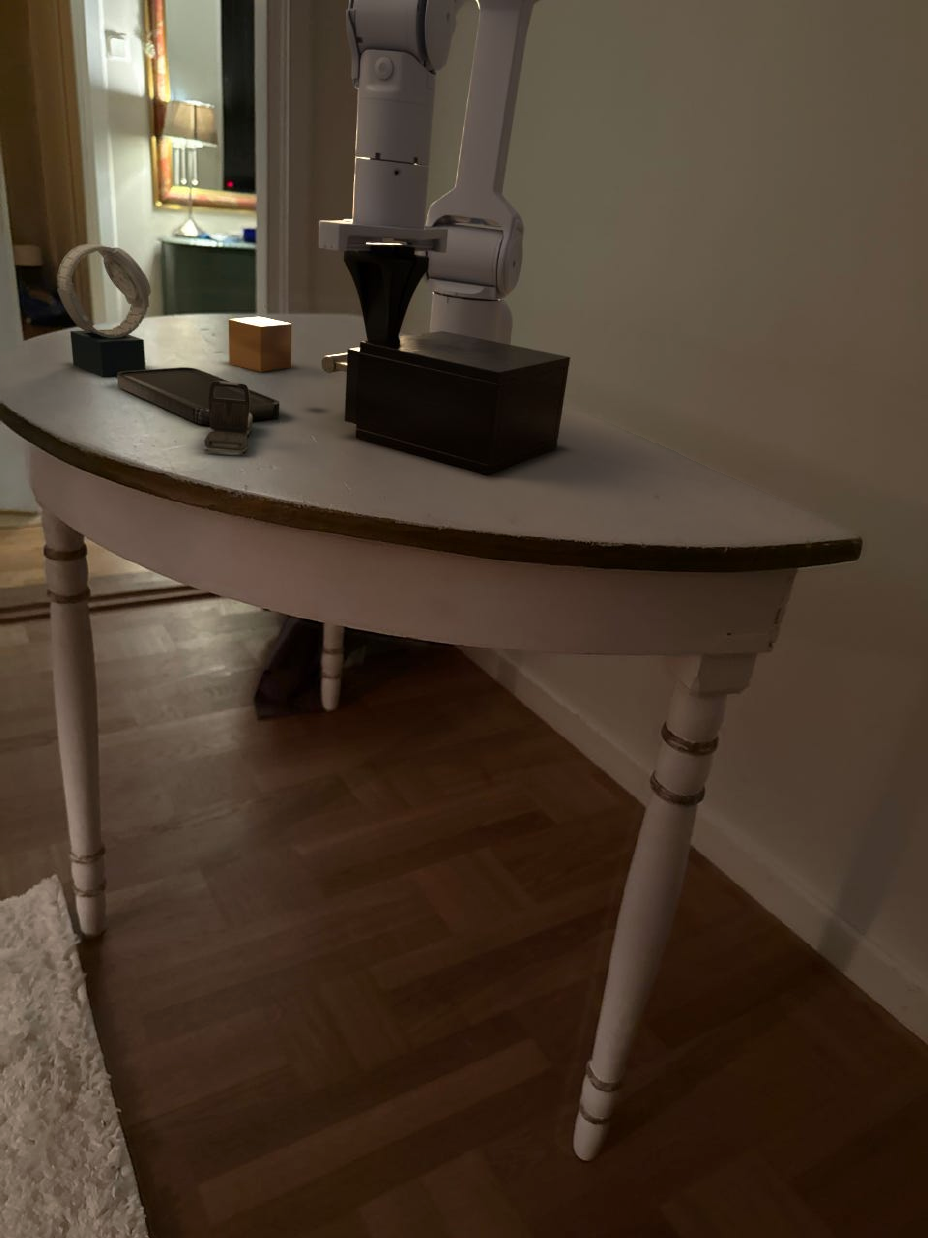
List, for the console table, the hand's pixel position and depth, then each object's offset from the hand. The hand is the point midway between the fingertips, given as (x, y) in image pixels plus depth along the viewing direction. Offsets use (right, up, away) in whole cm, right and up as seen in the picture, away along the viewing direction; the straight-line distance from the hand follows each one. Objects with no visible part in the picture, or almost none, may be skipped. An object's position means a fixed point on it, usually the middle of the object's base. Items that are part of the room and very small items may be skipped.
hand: (381, 343), depth 74 cm
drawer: (+3, -6, +1) cm, 7 cm away
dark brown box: (+6, -8, -1) cm, 11 cm away
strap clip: (-11, -9, -6) cm, 16 cm away
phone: (-16, -4, +3) cm, 17 cm away
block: (-15, +4, +19) cm, 24 cm away
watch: (-27, +1, +11) cm, 29 cm away
